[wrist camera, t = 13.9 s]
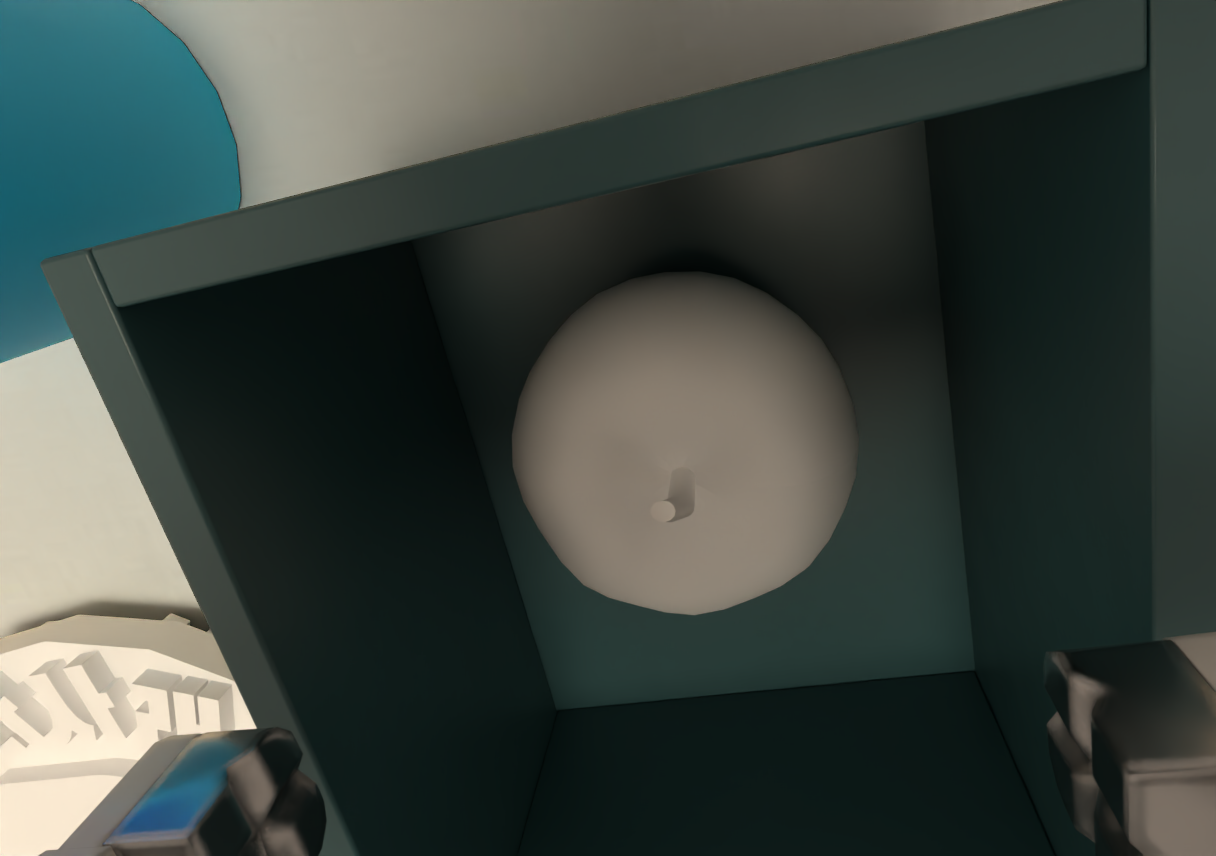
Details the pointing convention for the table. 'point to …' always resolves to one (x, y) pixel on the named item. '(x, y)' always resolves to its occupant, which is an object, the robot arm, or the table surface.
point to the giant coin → (97, 714)
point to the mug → (96, 145)
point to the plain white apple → (685, 443)
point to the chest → (877, 505)
